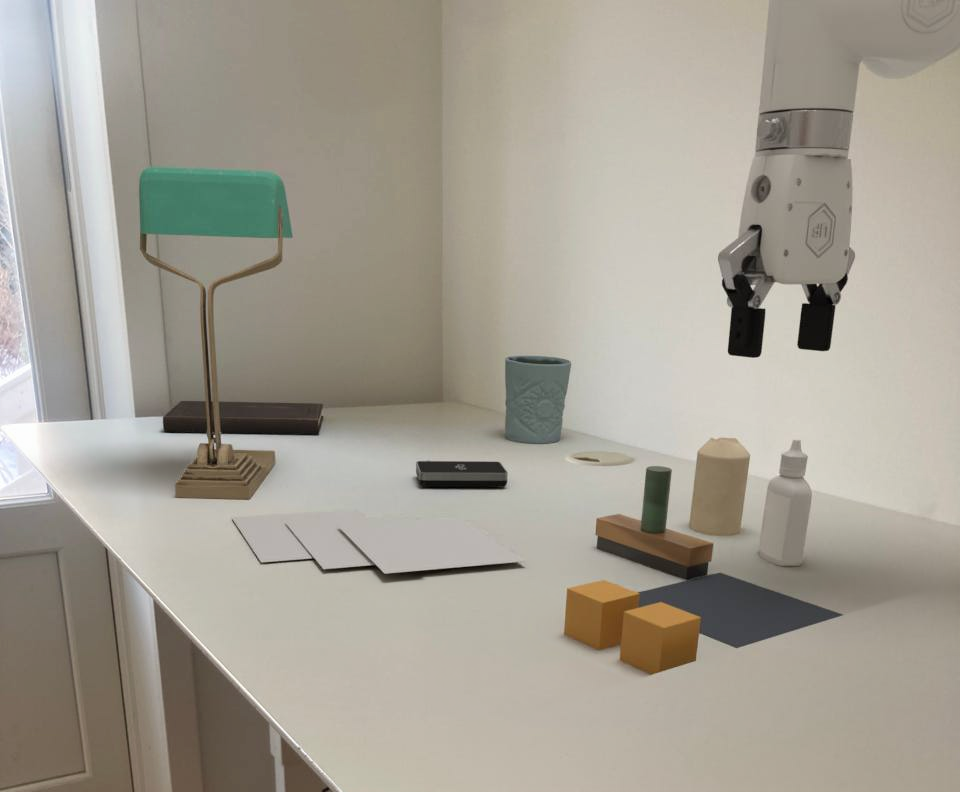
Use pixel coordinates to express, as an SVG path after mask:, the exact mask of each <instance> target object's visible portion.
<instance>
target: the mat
mask: <svg viewBox="0 0 960 792" xmlns="http://www.w3.org/2000/svg"><path fill="white" fill-rule="evenodd" d="M637 593H639V594H640V596H639V606H638V608H640V607H644V606H647V605H651V604H655V603H659V602H662V603H665V604H668V605H670V606H673V607H675V608H678V609H681V610H683V611H686V612H688V613H691V614H694V615H696V616H699V617H701V622H700V630H699V635H700V634H701V635H703V636H705V637H707V638H710V639H713V640H715V641H717V642H720V643H722V644H725V645H728V646H730V647H733V648H735V649H739V648H743V647H746V646H748V645H752V644H755V643H759V642H762V641H765V640H768V639H772V638H775V637H778V636H781V635H784V634H787V633H791V632H794V631H798V630H800V629H803V628H807V627H811V626H814V625H816V624H819V623H822V622H827V621H829V620H832V619H836V618H839V617H843V616H844V614H843V613H840V612H837V611H834V610H831V609H828V608H825V607H822V606H819V605H817V604H814V603H810V602H808V601H805V600H802V599H799V598H796V597H793V596H790V595H787V594H784V593H781V592H778V591H776V590H773V589H770V588H767V587H764V586H761V585H758V584H756V583H752V582H749V581H746V580H743V579H740V578H737V577H734V576H731V575H728V574H725V573H722V572H717V573H713V574H707V575H705V576H701V577H697V578H693V579H689V580H684V581H679V582H675V583H672V584H667V585H663V586H659V587H654V588H650V589H646V590H641V591H638V592H637Z"/></svg>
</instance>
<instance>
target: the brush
mask: <svg viewBox="0 0 960 792" xmlns="http://www.w3.org/2000/svg"><path fill="white" fill-rule="evenodd" d="M672 472H673V469H672V468H670V467H667V466H660V465H649V466H647V467H646V468H645V477H644V488H643V499H642V512H641V519H637V518H634V517H630V516H627V515H624V514H621V513H616V514H611V515H605V516H601V517H596V521H595V534H594V535H595V536H597V538H596V549H597V550H599V551H602V552H605V553H608V554H610V555H613V556H616V557H619V558H622V559H625V560H628V561H631V562H634V563H636V564H639V565H642V566H645V567H647V568H651V569H653V570H657V571H659V572H661V573H664V574H667V575H670V576H672V577H677V578H679V579H681V580H684V581H687V580H691V579H695V578H700V577H704V576H708V570H709V564H710V562H712V560H713V559H712V558H713V552H714V542H712V541H709V540H708V541H707V540H705V539H702V538H698V537H694V536H691V535H688V534H685V533H682V532H679V531H675V530H672V529H669V528H667V522H668V521H667V520H668V509H669V502H670V492H671V481H672Z"/></svg>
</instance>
